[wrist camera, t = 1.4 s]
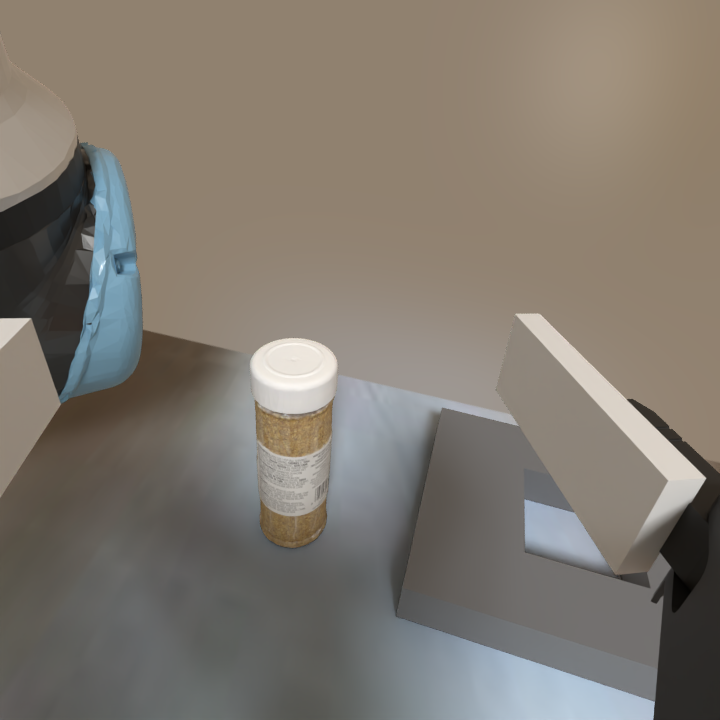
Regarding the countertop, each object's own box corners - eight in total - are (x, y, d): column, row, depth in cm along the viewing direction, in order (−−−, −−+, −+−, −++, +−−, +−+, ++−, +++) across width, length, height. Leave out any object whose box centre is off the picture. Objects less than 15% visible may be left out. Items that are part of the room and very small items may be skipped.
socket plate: (395, 616, 27) (404, 579, 25) (435, 434, 40) (444, 400, 38) (783, 743, 24) (832, 713, 22) (690, 499, 37) (715, 465, 34)
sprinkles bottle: (289, 484, 34) (289, 325, 27) (340, 515, 33) (355, 354, 25) (244, 527, 31) (229, 361, 24) (298, 565, 29) (301, 397, 22)
